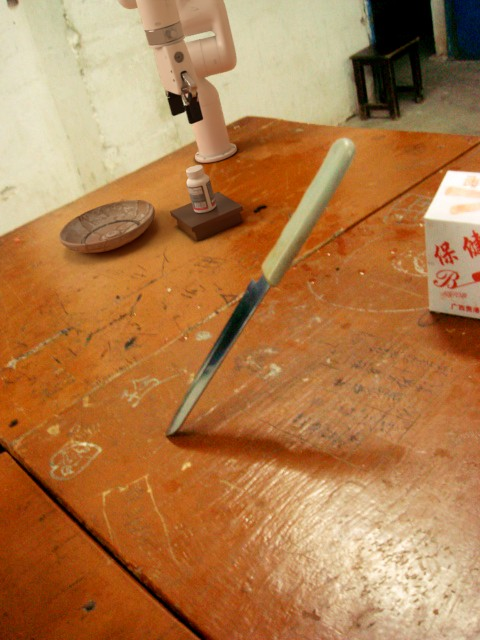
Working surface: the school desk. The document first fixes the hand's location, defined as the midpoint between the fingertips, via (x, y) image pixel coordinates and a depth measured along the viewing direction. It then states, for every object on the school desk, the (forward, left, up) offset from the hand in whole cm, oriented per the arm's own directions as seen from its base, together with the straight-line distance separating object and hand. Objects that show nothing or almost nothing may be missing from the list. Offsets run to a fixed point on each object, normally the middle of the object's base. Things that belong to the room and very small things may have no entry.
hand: (187, 117), depth 139 cm
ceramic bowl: (-12, -22, -24) cm, 35 cm away
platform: (+2, -2, -24) cm, 24 cm away
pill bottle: (+2, -2, -20) cm, 21 cm away
